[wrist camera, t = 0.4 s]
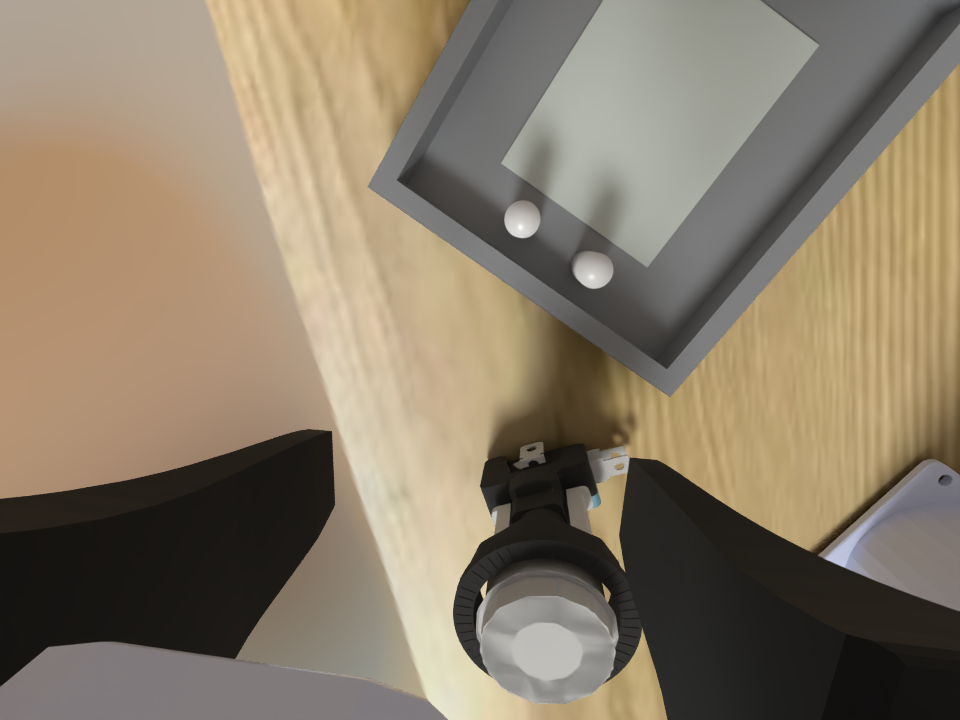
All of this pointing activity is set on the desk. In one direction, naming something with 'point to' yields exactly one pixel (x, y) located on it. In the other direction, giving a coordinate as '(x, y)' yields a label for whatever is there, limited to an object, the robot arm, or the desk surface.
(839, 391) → the desk surface
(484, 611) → the push button
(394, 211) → the desk surface
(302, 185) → the desk surface
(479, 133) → the pin tray
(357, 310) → the desk surface
